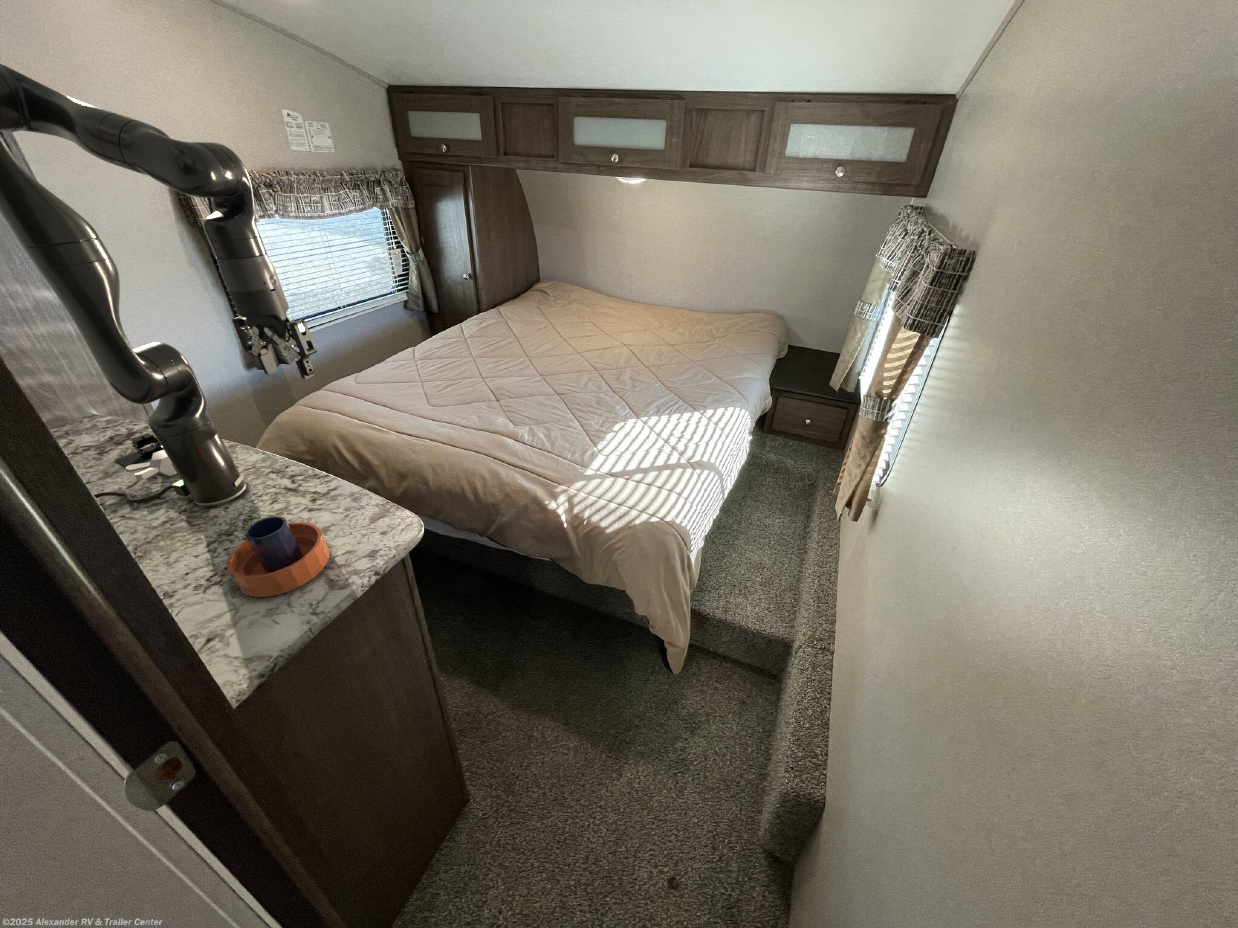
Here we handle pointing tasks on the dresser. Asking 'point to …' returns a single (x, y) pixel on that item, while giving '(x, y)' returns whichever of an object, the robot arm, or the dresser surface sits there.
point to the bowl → (260, 584)
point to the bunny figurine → (153, 466)
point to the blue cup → (273, 543)
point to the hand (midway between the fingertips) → (290, 375)
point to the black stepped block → (141, 450)
